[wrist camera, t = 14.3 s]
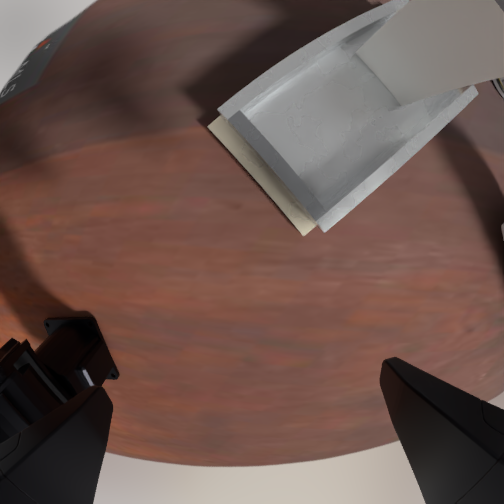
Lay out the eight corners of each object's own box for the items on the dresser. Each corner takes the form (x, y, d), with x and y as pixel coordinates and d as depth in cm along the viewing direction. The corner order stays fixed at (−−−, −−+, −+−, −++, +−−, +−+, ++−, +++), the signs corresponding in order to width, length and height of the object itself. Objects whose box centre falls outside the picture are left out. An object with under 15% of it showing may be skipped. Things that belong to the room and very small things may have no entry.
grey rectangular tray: (300, 232, 18) (312, 247, 15) (209, 129, 16) (199, 119, 13) (457, 97, 15) (484, 91, 12) (389, 10, 13) (409, -9, 10)
